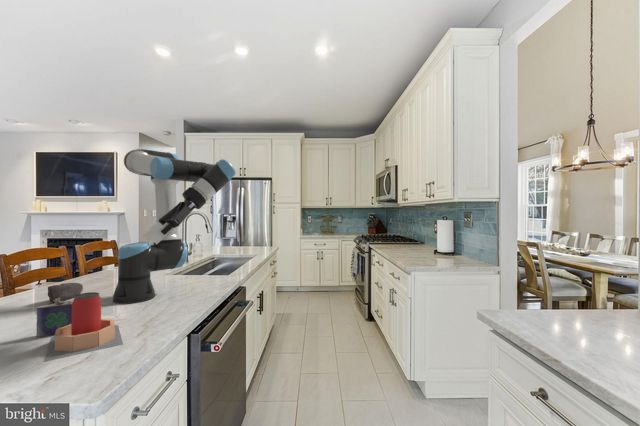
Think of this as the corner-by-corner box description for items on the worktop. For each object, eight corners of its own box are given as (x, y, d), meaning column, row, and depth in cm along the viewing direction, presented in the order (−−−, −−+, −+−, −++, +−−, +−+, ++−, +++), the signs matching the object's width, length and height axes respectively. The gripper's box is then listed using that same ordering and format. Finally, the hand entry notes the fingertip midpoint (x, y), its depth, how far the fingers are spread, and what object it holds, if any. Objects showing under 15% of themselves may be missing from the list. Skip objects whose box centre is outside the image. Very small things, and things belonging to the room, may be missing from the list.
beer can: (85, 343, 81) (85, 298, 81) (64, 341, 82) (65, 297, 82) (106, 334, 87) (107, 292, 87) (87, 332, 89) (88, 291, 89)
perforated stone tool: (77, 294, 134) (78, 278, 134) (88, 295, 133) (88, 279, 133) (41, 304, 120) (41, 286, 120) (52, 305, 119) (52, 287, 119)
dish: (57, 338, 86) (57, 325, 86) (112, 328, 94) (112, 316, 94) (53, 355, 76) (53, 340, 76) (115, 342, 83) (115, 328, 83)
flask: (35, 339, 86) (35, 301, 86) (38, 335, 89) (38, 299, 89) (76, 333, 91) (76, 297, 91) (78, 330, 94) (78, 295, 94)
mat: (51, 338, 87) (51, 337, 87) (117, 326, 97) (117, 324, 97) (43, 363, 73) (43, 361, 73) (123, 345, 82) (123, 344, 82)
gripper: (218, 201, 97) (166, 251, 88) (196, 203, 116) (152, 244, 107) (201, 183, 93) (145, 233, 84) (181, 188, 113) (134, 229, 104)
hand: (149, 239), depth 96 cm, fingers open, 13 cm apart
